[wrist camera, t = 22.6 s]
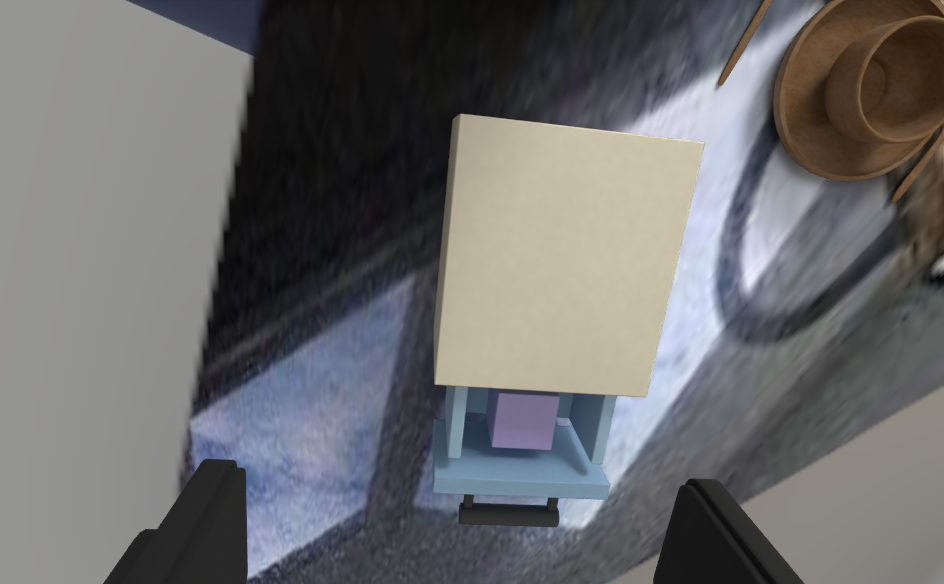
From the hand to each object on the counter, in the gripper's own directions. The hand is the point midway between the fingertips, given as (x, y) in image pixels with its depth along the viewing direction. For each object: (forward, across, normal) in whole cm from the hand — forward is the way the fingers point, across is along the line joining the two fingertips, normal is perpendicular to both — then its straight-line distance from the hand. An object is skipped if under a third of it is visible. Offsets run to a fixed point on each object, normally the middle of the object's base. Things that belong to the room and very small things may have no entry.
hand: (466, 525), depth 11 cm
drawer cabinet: (+26, -7, -1) cm, 26 cm away
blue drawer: (+25, -7, +9) cm, 27 cm away
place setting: (+26, -28, -18) cm, 41 cm away
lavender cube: (+24, -7, +10) cm, 26 cm away
